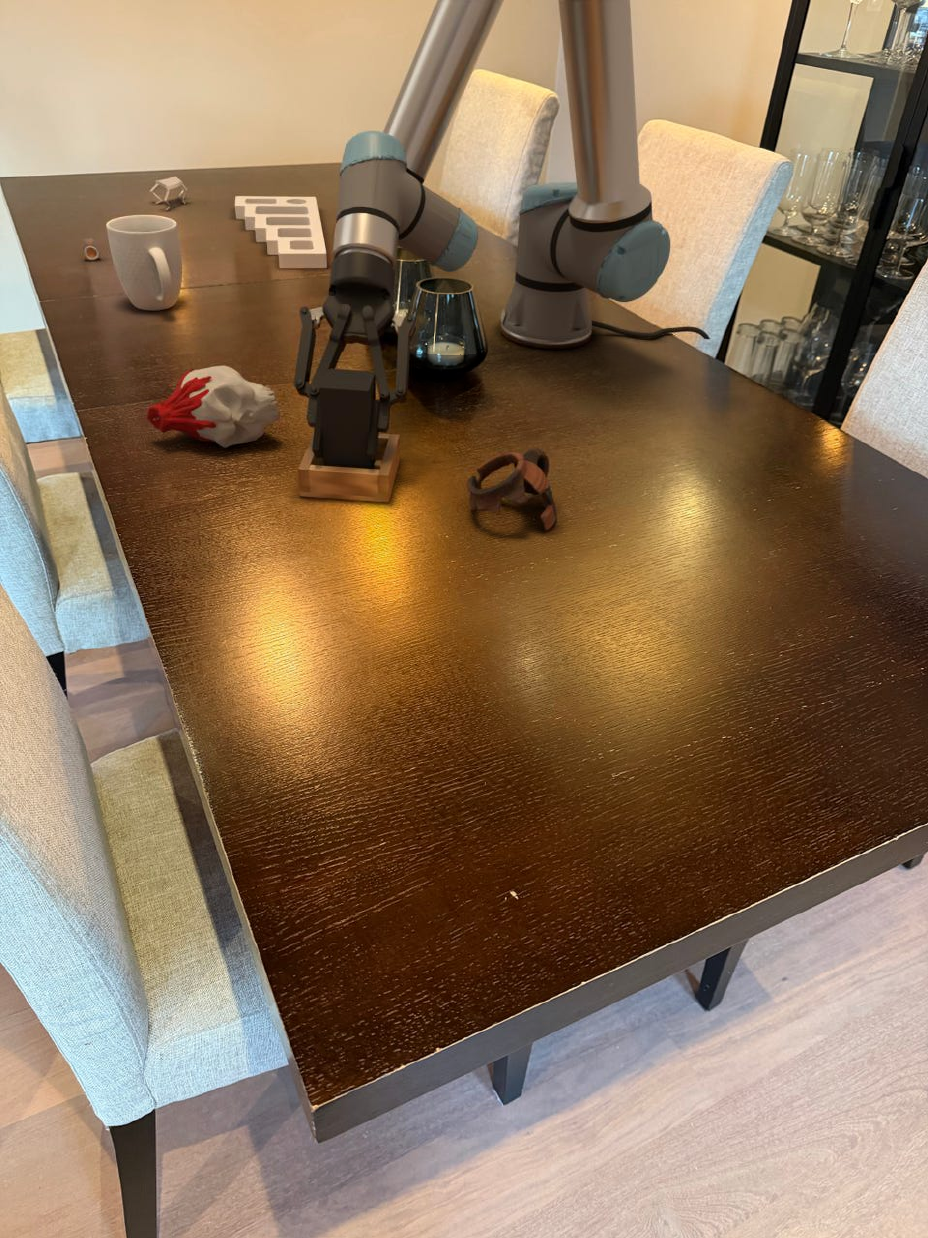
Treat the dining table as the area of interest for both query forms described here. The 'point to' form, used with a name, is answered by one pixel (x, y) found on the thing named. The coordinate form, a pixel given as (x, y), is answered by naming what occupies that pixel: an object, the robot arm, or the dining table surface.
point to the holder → (286, 228)
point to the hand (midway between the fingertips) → (344, 455)
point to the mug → (147, 259)
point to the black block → (346, 417)
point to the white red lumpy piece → (216, 407)
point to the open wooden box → (351, 475)
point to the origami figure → (169, 188)
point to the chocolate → (91, 251)
